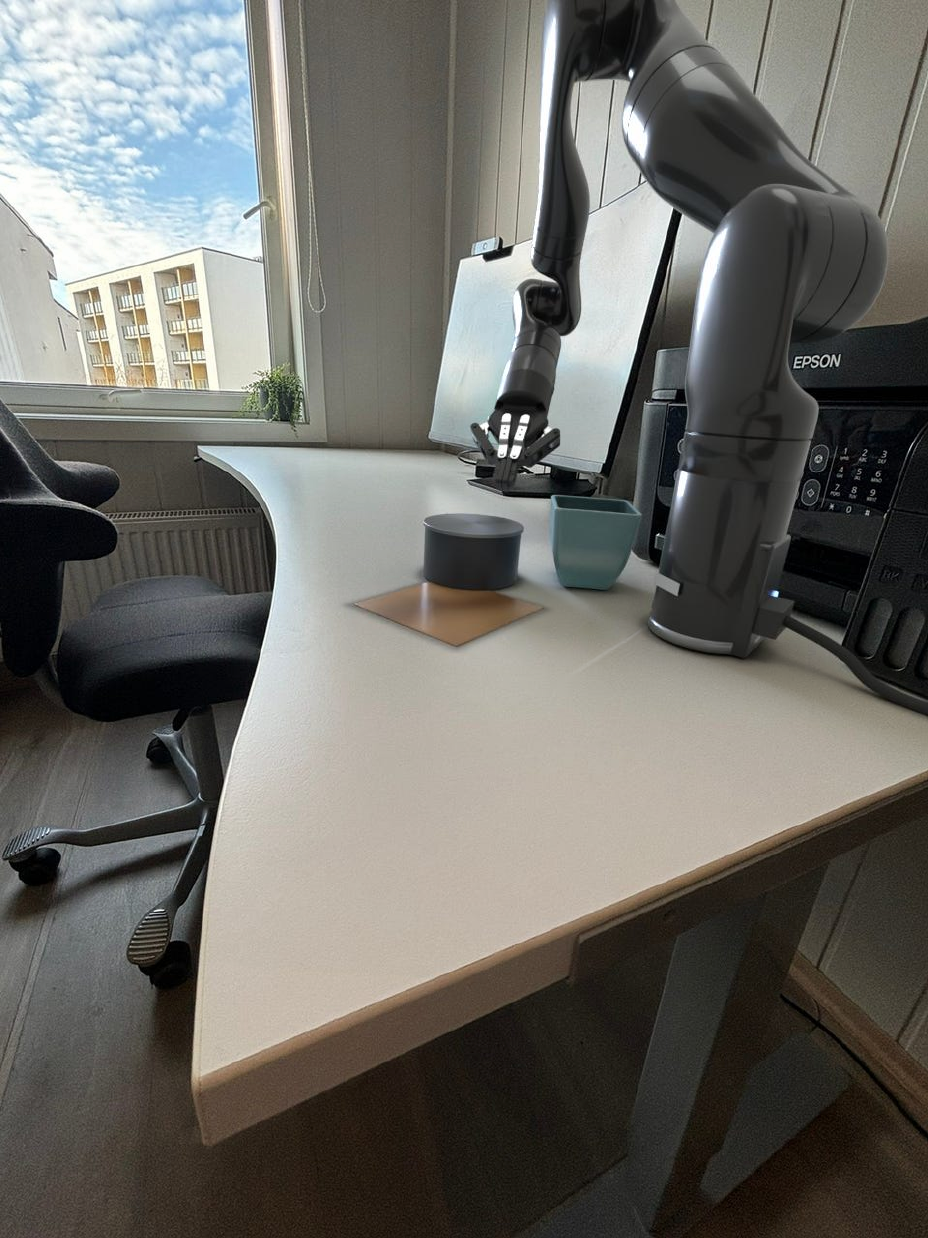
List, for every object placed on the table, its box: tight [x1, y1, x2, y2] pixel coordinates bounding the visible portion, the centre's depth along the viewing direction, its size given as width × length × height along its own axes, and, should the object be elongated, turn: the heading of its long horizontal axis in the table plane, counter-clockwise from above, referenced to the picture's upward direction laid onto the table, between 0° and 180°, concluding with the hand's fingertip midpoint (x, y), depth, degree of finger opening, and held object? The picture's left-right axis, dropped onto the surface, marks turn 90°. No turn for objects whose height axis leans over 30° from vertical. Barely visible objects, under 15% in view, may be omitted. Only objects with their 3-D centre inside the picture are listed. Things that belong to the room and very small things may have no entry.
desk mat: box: [353, 580, 544, 648], centre depth 55 cm, size 13×13×1 cm
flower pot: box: [549, 494, 643, 591], centre depth 62 cm, size 9×9×9 cm
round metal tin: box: [422, 512, 525, 591], centre depth 63 cm, size 11×11×6 cm
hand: (502, 487), depth 74 cm, fingers closed
